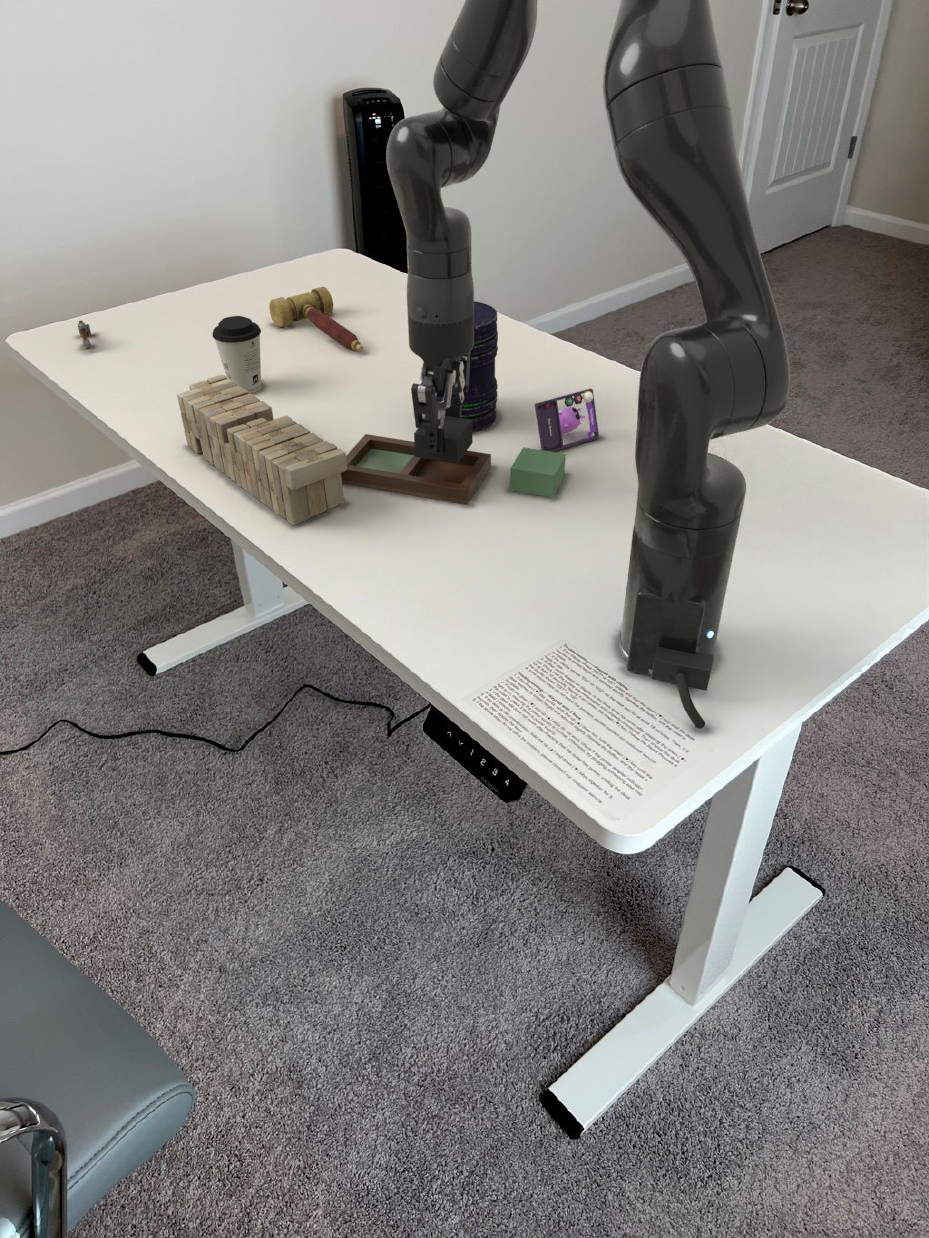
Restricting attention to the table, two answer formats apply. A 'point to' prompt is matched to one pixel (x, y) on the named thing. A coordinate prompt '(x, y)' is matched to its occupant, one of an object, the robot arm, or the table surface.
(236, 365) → the coffee cup
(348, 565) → the table surface
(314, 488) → the block tower
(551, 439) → the game card
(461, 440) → the charcoal pad
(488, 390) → the navy oil drum
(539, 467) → the sage pad
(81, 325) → the wooden post with brackets
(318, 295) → the gavel
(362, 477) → the divided wooden tray
